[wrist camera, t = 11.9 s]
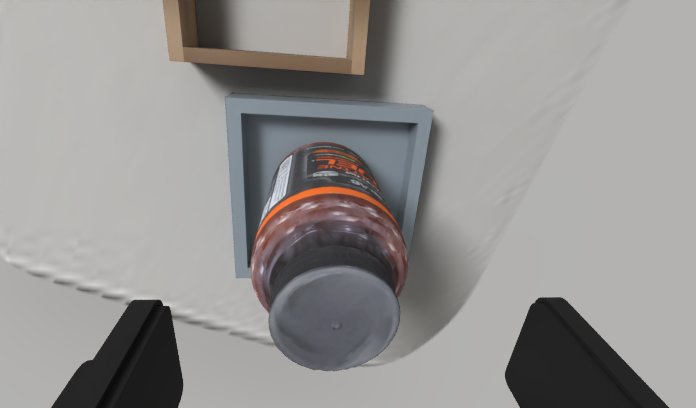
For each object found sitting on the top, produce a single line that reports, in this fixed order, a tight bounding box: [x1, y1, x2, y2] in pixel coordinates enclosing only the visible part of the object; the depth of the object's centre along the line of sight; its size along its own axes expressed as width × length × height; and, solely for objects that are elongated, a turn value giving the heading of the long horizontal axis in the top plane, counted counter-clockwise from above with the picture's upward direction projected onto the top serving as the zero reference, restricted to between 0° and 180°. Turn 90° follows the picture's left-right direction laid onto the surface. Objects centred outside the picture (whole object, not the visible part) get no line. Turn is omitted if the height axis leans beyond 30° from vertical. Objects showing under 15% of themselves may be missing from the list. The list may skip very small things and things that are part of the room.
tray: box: [225, 93, 433, 278], centre depth 21 cm, size 10×10×2 cm
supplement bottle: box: [250, 142, 408, 371], centre depth 16 cm, size 6×6×11 cm
